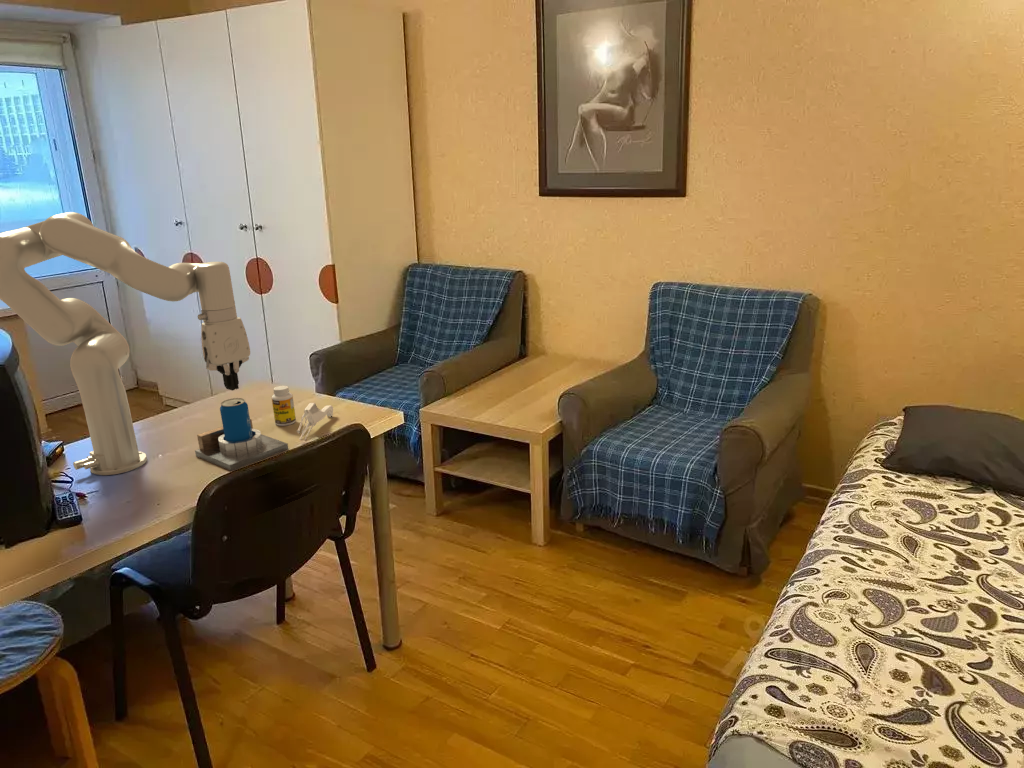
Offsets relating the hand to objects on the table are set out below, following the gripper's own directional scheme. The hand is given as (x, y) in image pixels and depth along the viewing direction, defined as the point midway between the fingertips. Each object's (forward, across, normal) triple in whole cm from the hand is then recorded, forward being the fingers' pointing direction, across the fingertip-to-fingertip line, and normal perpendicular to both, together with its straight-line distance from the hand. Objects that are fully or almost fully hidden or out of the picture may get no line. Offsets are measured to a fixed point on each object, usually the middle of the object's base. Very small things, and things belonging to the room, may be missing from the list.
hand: (232, 388), depth 188 cm
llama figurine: (+17, +21, -2) cm, 27 cm away
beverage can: (+15, 0, 0) cm, 16 cm away
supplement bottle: (+17, +19, +9) cm, 27 cm away
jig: (+17, 0, 0) cm, 17 cm away
